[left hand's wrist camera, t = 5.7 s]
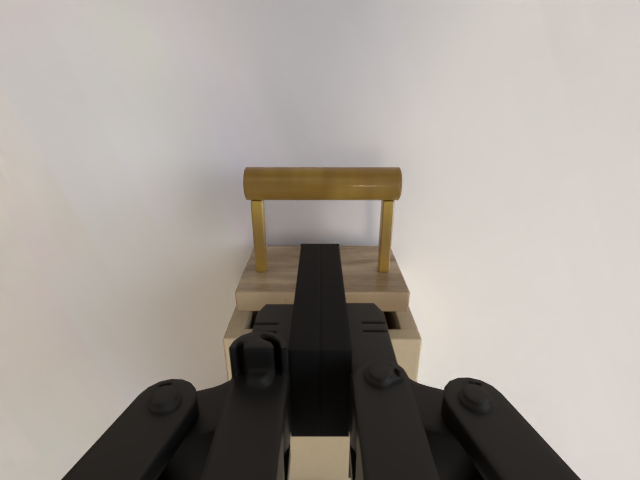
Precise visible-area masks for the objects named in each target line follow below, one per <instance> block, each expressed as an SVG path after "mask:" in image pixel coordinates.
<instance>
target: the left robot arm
mask: <svg viewBox="0 0 640 480" xmlns="http://www.w3.org/2000/svg"><path fill="white" fill-rule="evenodd" d="M229 355H230V364H231V373H232V378H231V380H229V381H228V382H226V383H224V384H222V385H219V386H216V387H213V388H209V389H205V390H201V391H197V392H196V389H195V387H194V386H193V385H192V384H191V383H190V382H187V381H185V380H182V379H170V380H166V381H161V382H158V383H156V384H154V385H152V386H150V387H148V388H147V389H146V390H145V391H143V392H142V393H141V394H140V395H139V396H138V397H137V398H136V399H135V400H134V401H133V402H132V403H131V404H130V405H129V407H128V408H127V409H126V410H125V411H124V412H123V413H122V414H121V415H120V416H119V417H118V419H117V420H116V421H115V422H114V423H113V424H112V425H111V426H110V427H109V428H108V429H107V430H106V432H105V433H104V434H103V435H102V436H101V437H100V438H99V439H98V440H97V441H96V442H95V444H94V445H93V446H92V447H91V448H90V449H89V450H88V451H87V452H86V453H85V454H84V456H83V457H82V458H81V459H80V460H79V461H78V462H77V463H76V464H75V465H74V466H73V468H72V469H71V470H70V471H69V472H68V473H67V474H66V475H65V476H64V477H63V478H62V480H289V473H290V460H291V449H290V438H291V437H349V436H350V449H349V473H348V478H351V480H581V479H580V478H579V477H578V476H577V475H576V474H575V473H574V472H573V471H572V469H571V468H570V467H569V466H568V465H567V464H566V463H565V462H564V461H563V460H562V459H561V458H560V457H559V455H558V454H557V453H556V452H555V451H554V450H553V449H552V448H551V447H550V446H549V445H548V444H547V442H546V441H545V440H544V439H543V438H542V437H541V436H540V435H539V434H538V433H537V432H536V431H535V429H534V428H533V427H532V426H531V425H530V424H529V423H528V422H527V421H526V420H525V419H524V418H523V416H522V415H521V414H520V413H519V412H518V411H517V410H516V409H515V408H514V407H513V406H512V405H511V403H510V402H509V401H508V400H507V399H506V398H505V397H504V396H503V395H502V394H501V393H500V392H499V391H498V390H496V389H495V388H494V387H493V386H491V385H489V384H487V383H485V382H483V381H481V380H477V379H473V378H457V379H454V380H452V381H449V383H448V384H447V385H446V386H445V388H444V390H441V389H437V388H433V387H429V386H425V385H422V384H419V383H417V382H415V381H413V380H411V379H410V378H409V377H408V375H407V373H406V372H405V370H404V369H403V368H402V367H401V366H399V365H398V363H397V360H396V356H395V353H394V349H393V346H392V342H391V339H390V335H389V332H388V328H387V325H386V321H385V318H384V314H383V311H381V310H380V309H379V308H378V307H377V306H376V305H375V304H374V303H346V297H345V289H344V281H343V273H342V265H341V257H340V249H339V244H301V249H300V257H299V265H298V273H297V281H296V289H295V297H294V304H266V305H265V306H264V307H263V308H262V309H261V310H260V311H259V312H258V313H257V316H256V319H255V323H254V326H253V330H252V332H250V333H247V334H244V335H242V336H240V337H239V338H237V339H236V340H234V341H233V342H232V344H231V345H230V347H229Z"/></svg>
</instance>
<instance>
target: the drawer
mask: <svg viewBox="0 0 640 480" xmlns="http://www.w3.org/2000/svg"><path fill="white" fill-rule="evenodd" d="M243 184H244V194H245V197H246V199H247V200H251V211H252V225H253V238H254V249H253V252H252V254H251V256H250V259H249V261H248V263H247V266H246V268H245V270H244V273H243V275H242V278H241V280H240V282H239V285H238V287H237V289H236V292H235V295H236V305H237V311H260V310H261V309H262V308H263V307H264V306H265V305H266V304H294V297H295V289H296V281H297V273H298V265H299V257H300V249H301V246H266V231H265V214H264V200H382V202H381V217H380V233H379V246H339V249H340V257H341V265H342V273H343V281H344V289H345V297H346V303H374V304H375V305H376V306H377V307H378V308H379V309H380V310H381V311H383V314H384V311H408V306H409V296H410V292H409V290H408V287H407V285H406V283H405V280H404V278H403V276H402V273H401V271H400V269H399V266H398V264H397V262H396V259H395V257H394V255H393V252H392V250H391V240H392V227H393V214H394V200H399V198H400V196H401V190H402V173H401V169H400V168H399V167H246V168H245V171H244V179H243ZM384 318H385V315H384ZM385 321H386V318H385ZM386 325H387V322H386ZM387 328H388V325H387Z"/></svg>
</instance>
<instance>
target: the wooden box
mask: <svg viewBox="0 0 640 480" xmlns="http://www.w3.org/2000/svg"><path fill="white" fill-rule="evenodd" d="M258 312H259V311H237V305H236V308H235V310H234V313H233V315H232V318H231V320H230V323H229V325H228V328H227V331H226V333H225V336H224V338H223V342H224V351H225V359H226V368H227V376H228V381H229V380H231V378H232V373H231V364H230V355H229V347H230V345H231V344H232V342H233V341H234V340H236V339H237V338H239V337H240V336H242V335H244V334H247V333H250V332H252V330H253V326H254V323H255V319H256V316H257V313H258ZM384 315H385V318H386V322H387V325H388V332H389V335H390V339H391V342H392V346H393V349H394V353H395V356H396V360H397V363H398V365H399V366H401V367H402V368H403V369H404V370H405V372H406V373H407V375H408V377H409V378H410V379H411V380H413V381H415V382H417V375H418V367H419V359H420V351H421V343H422V339H421V337H420V334H419V331H418V329H417V326H416V323H415V321H414V318H413V316H412V313H411V311H410V308H409V306H408V311H384ZM290 449H291V460H290V473H289V480H351V478H348V473H349V449H350V436H349V437H291V438H290Z"/></svg>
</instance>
